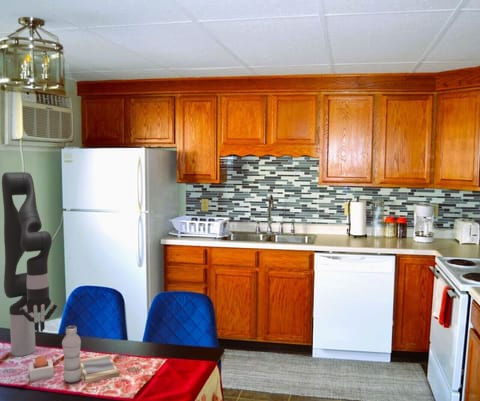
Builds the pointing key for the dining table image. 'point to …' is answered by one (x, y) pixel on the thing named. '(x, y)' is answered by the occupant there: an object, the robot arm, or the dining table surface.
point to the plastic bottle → (72, 355)
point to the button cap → (40, 362)
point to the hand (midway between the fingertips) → (39, 331)
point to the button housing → (41, 371)
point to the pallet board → (98, 368)
